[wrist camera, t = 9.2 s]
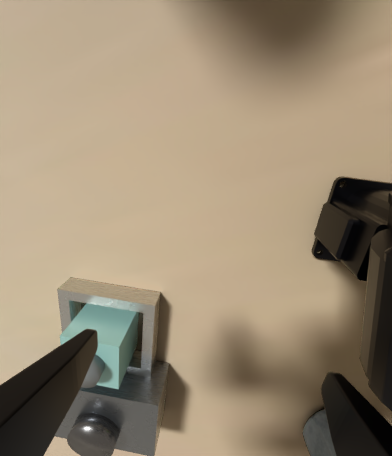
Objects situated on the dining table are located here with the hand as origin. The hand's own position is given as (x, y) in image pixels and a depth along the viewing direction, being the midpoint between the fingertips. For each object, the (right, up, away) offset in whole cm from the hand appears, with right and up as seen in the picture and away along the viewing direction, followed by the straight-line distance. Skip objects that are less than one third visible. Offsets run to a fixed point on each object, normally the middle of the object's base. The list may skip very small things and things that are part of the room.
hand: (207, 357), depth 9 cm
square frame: (-9, -8, +17) cm, 21 cm away
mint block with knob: (-9, -5, +16) cm, 19 cm away
